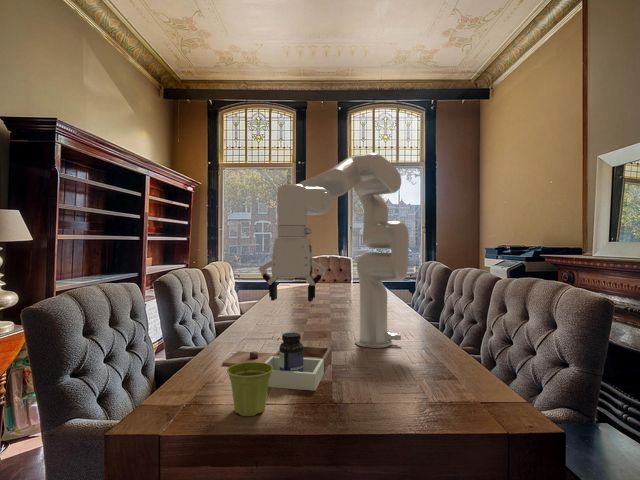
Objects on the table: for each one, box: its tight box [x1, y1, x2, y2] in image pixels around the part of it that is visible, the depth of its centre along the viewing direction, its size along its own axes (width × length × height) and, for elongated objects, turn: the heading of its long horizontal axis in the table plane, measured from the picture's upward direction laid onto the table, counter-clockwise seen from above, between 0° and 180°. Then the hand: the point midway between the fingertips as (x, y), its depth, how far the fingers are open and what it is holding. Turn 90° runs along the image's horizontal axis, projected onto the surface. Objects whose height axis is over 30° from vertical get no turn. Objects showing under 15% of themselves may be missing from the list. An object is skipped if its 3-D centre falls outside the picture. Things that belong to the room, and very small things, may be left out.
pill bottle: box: [278, 331, 304, 372], centre depth 96 cm, size 6×6×11 cm
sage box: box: [265, 356, 325, 392], centre depth 95 cm, size 15×12×4 cm
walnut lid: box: [221, 350, 277, 367], centre depth 111 cm, size 15×12×2 cm
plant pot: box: [226, 362, 273, 417], centre depth 78 cm, size 9×9×9 cm
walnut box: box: [273, 345, 332, 373], centre depth 108 cm, size 15×12×4 cm
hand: (292, 300), depth 96 cm, fingers open, 9 cm apart
